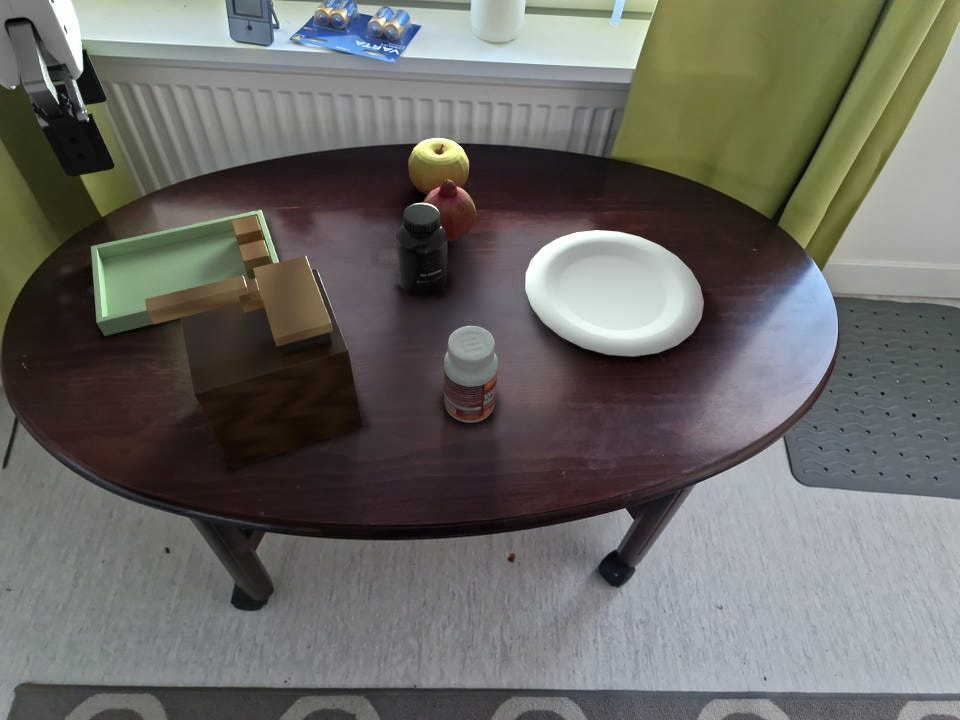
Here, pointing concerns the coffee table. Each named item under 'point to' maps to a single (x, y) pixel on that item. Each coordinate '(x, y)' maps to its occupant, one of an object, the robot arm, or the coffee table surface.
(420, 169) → the apple
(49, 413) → the coffee table surface
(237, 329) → the stand
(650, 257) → the plate
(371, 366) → the coffee table surface
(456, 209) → the fruit
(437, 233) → the supplement bottle
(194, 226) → the tray
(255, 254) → the cork block
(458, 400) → the pill bottle
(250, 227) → the brown cube
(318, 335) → the brush
